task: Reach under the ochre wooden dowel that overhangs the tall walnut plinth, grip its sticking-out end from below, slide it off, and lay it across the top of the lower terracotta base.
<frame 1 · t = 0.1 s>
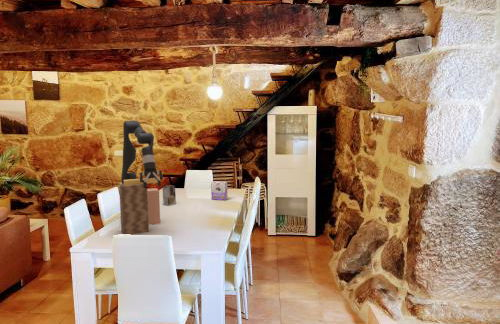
hand: (152, 187, 243), 31 cm above the table, tool tilted 20°, fingers open, 8 cm apart
candy box: (219, 199, 347), on the table
terracotta base: (152, 222, 276), on the table
dowel: (141, 183, 254), point 32 cm above the table, touching plinth
plinth: (135, 231, 256), on the table
coffee box: (169, 204, 330), on the table
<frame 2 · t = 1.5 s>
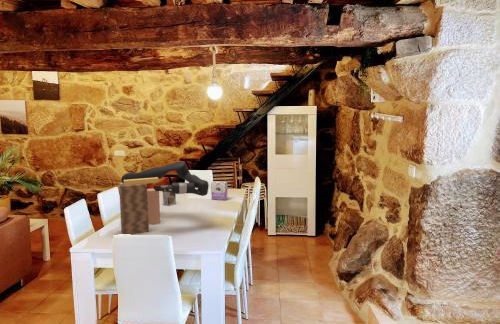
hand: (154, 188, 250), 29 cm above the table, tool horizontal, fingers open, 8 cm apart
nothing on the table moved.
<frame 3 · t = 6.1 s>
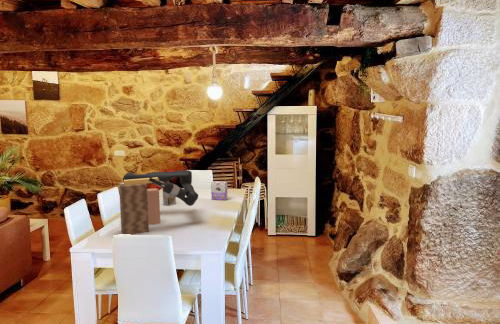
hand: (149, 178, 256), 35 cm above the table, tool pointing upward, fingers closed on dowel, 3 cm apart
dowel: (141, 183, 254), point 32 cm above the table, touching gripper, plinth
everything else where it was.
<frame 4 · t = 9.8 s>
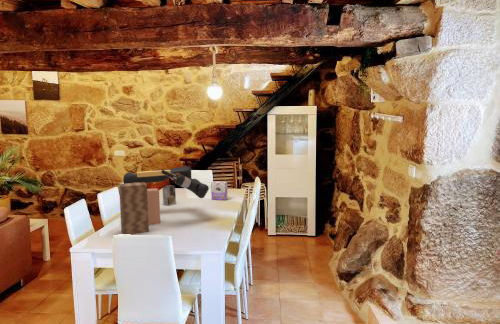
hand: (161, 170, 263), 39 cm above the table, tool pointing upward, fingers closed on dowel, 3 cm apart
dowel: (154, 175, 262), point 36 cm above the table, touching gripper
everything else where it was.
when the fingers open (29 cm above the table, at t = 13.4 s): dowel drops 2 cm, resting on terracotta base.
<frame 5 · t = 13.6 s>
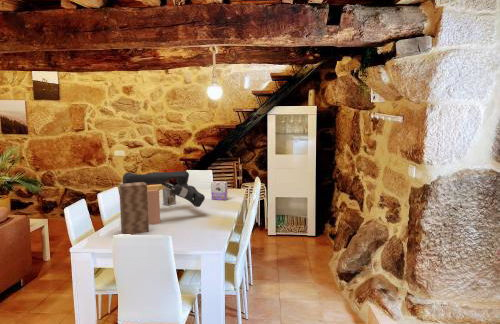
hand: (159, 181, 275), 29 cm above the table, tool pointing upward, fingers open, 5 cm apart
dowel: (152, 189, 273), point 24 cm above the table, touching terracotta base
everything else where it was.
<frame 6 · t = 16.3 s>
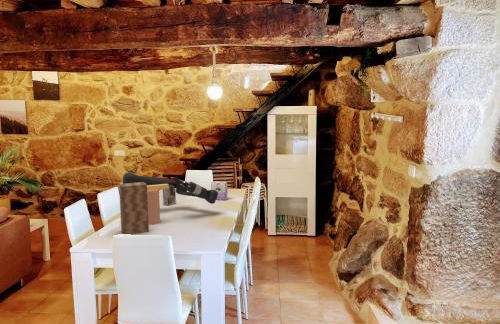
hand: (175, 179, 280), 30 cm above the table, tool pointing upward, fingers open, 8 cm apart
nothing on the table moved.
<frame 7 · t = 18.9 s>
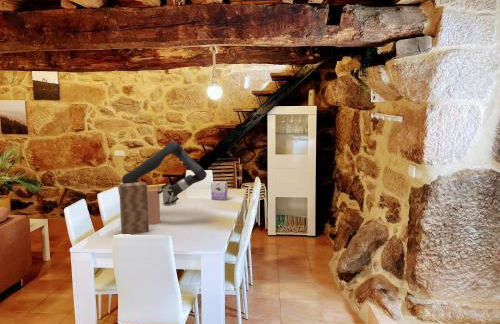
hand: (161, 198, 269), 18 cm above the table, tool tilted 60°, fingers open, 8 cm apart
nothing on the table moved.
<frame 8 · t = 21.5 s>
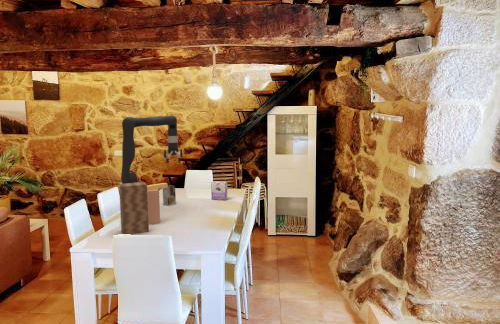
hand: (173, 162, 294), 40 cm above the table, tool pointing down, fingers open, 8 cm apart
dowel: (153, 189, 275), point 24 cm above the table, touching terracotta base
everything else where it was.
at the end: dowel inside the target area on the terracotta base (2.2 cm from its centre), point 24.0 cm above the terracotta base's base; the gripper is holding nothing; dowel touching terracotta base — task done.
